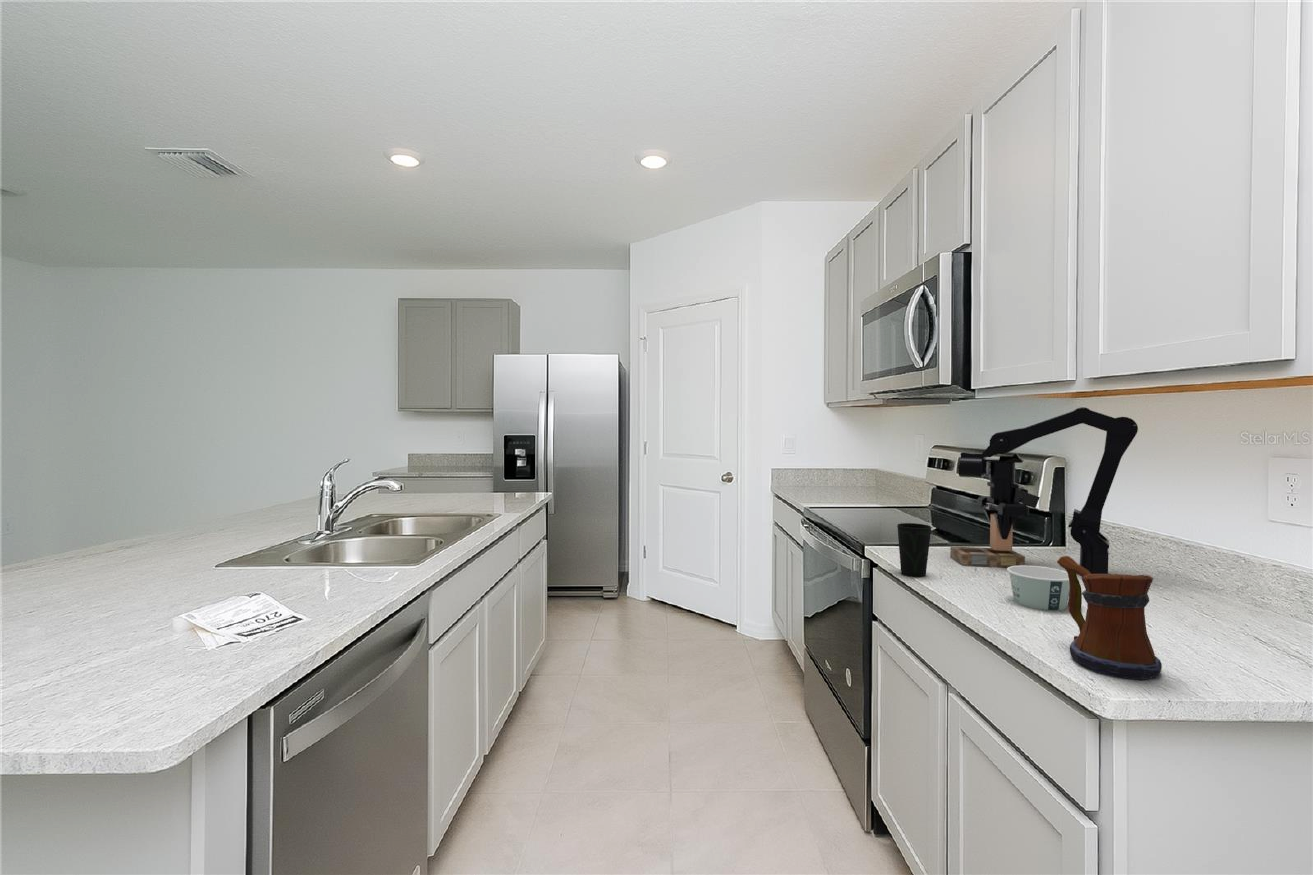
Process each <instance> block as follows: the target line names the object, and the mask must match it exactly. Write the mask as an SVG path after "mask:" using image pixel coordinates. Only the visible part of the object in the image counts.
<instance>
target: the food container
mask: <svg viewBox="0 0 1313 875" xmlns="http://www.w3.org/2000/svg"><path fill="white" fill-rule="evenodd" d="M1006 571H1007V572H1008V573H1009V578H1010V584H1011V590H1012V597H1013V601H1014V602H1015V603H1017V604H1019V605H1021V606H1025V607H1027V608H1028V607H1029V608H1032V609H1039V610H1043V611H1044V610H1046V611H1062V610H1065V609H1066V608H1067V606H1068V599H1069V592H1070V584H1069V577H1068V573H1067V571H1066V570H1062V569H1058V568H1054V567H1047V566H1040V565H1039V566H1038V565H1026V564H1025V565H1020V566H1011V567H1008V568H1006Z"/></svg>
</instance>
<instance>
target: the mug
mask: <svg viewBox="0 0 1313 875" xmlns="http://www.w3.org/2000/svg"><path fill="white" fill-rule="evenodd" d="M1056 562H1057V564H1058V565H1059V566H1060V567H1061V568H1063V569H1064V571H1066V572H1067V573H1068V577H1069V584H1070V592H1069V598H1068V602H1067V606H1068V612H1069V614H1070V617H1071V618H1072V619H1073V621H1074V622H1075V623H1076V625H1077V627H1078V629H1079V630H1078V632H1079V633H1078V635H1074V636H1073V640H1072V642H1071V643H1070V645H1069V653H1070V657H1071V658H1072V659H1073V660H1074V661H1075V662H1077V663H1079V665H1081V666H1083V667H1085V668H1087V669H1089V670H1091V671H1093V672H1095V673H1096V674H1097V673H1098V674H1103V675H1107V676H1109V677H1110V676H1111V677H1115V678H1120V679H1121V678H1122V679H1127V680H1136V681H1144V680H1150V679H1155V678H1156V679H1157V677H1158V676H1159V675H1160V673H1161V672H1162V669H1163V665H1162V664H1163V663H1162V661H1161V660H1160V658H1158V657H1157V656H1156V654H1155V651H1154V648H1153V646H1152V643H1151V640H1150V637H1149V635H1148V632H1147V624H1146V614H1145V610H1146V609H1145V607H1147V606H1148V603H1149V602H1150V598H1149V594H1148V593H1149V591H1150V588H1151V585H1152V583H1153V581H1154V577H1152V576H1151V575H1149V574H1148V575H1147V574H1146V575H1145V574H1138V575H1137V574H1136V575H1133V574H1122V573H1121V574H1118V573H1109V574H1091V573H1090V572H1089V571H1088V570H1087V569H1085V568H1084V567H1082V566H1080V564H1079V563H1077V562H1076V561H1075V560H1074V559H1073V558H1072V557H1070V556H1069V555H1065V556H1060V557H1059V559H1058V560H1057V561H1056ZM1077 575H1078V576H1079V577H1081V578H1080V579H1081V581H1082V583H1083V585H1084V589H1085V590H1083V591H1082V585H1081V583H1080V581H1079V579H1078V578H1079V577H1078V576H1077ZM1082 598H1083V599H1084V601H1085V602H1086V605H1087V608H1086V612H1085V614H1086V615H1085V618H1084V616H1083V613H1082V602H1083V599H1082Z"/></svg>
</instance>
